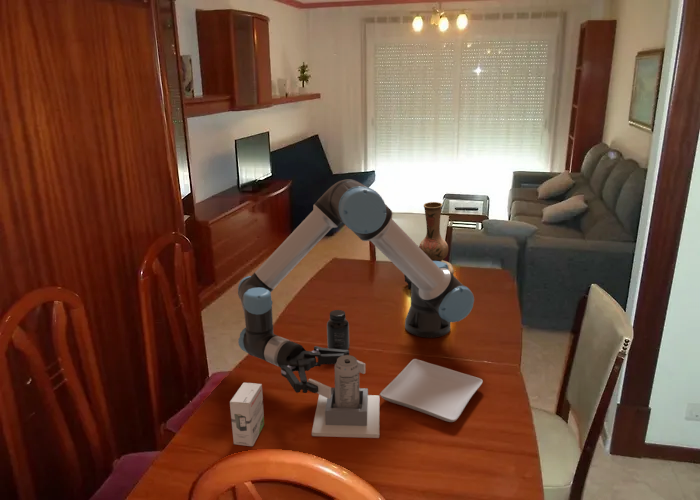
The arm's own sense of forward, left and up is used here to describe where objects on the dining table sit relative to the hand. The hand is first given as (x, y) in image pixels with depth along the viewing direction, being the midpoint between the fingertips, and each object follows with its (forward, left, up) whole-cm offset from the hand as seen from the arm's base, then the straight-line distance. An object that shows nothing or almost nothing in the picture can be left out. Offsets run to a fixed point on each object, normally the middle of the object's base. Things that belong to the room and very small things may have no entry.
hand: (348, 380), depth 130 cm
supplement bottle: (+5, -35, -11) cm, 37 cm away
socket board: (0, 0, -11) cm, 11 cm away
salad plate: (-22, -10, -11) cm, 27 cm away
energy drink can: (0, 0, -10) cm, 10 cm away
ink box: (+23, +8, -11) cm, 27 cm away
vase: (-28, -86, -11) cm, 91 cm away
